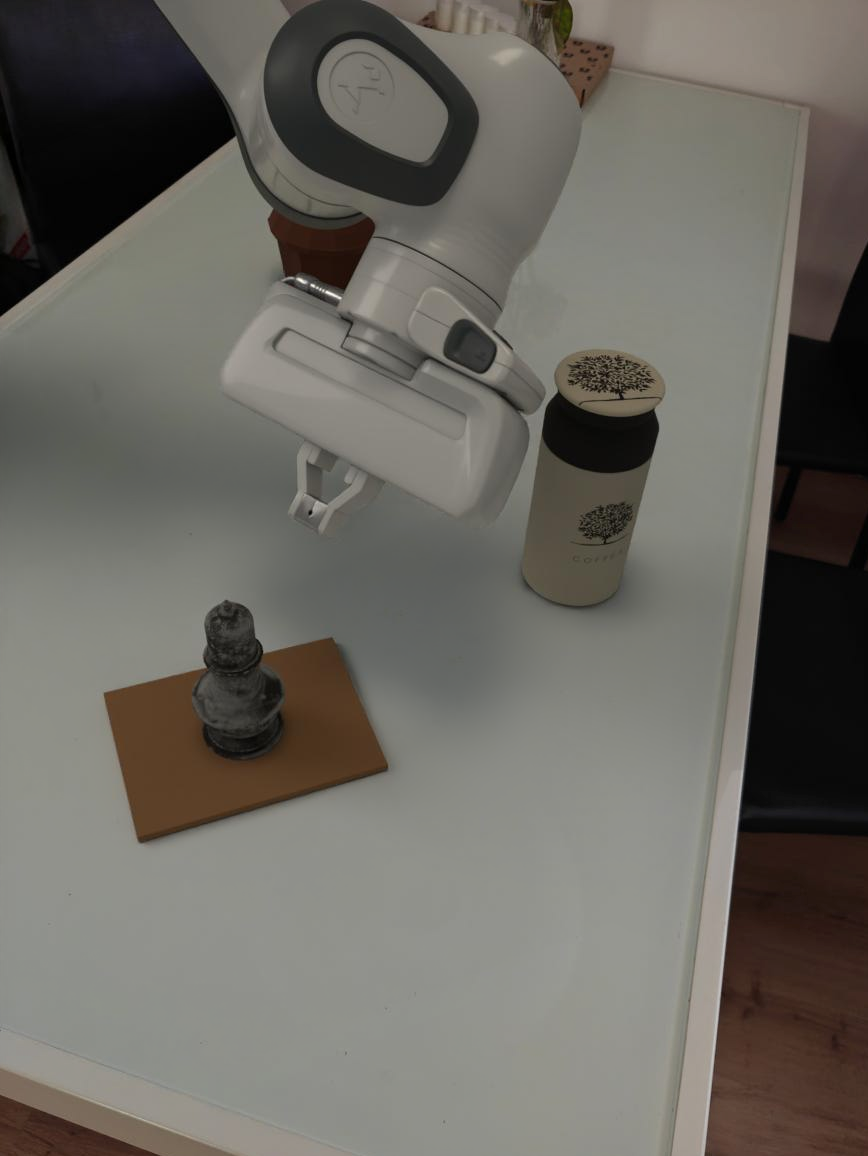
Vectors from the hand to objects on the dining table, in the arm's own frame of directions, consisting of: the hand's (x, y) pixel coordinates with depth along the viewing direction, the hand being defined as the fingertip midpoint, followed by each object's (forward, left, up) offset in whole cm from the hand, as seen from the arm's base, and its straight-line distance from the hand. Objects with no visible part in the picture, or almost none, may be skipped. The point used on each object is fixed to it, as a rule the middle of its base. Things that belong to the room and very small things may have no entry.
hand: (310, 528), depth 63 cm
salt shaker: (-6, -4, -13) cm, 15 cm away
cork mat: (-6, -4, -13) cm, 15 cm away
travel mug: (+22, +3, -13) cm, 26 cm away
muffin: (+17, +51, -13) cm, 56 cm away
